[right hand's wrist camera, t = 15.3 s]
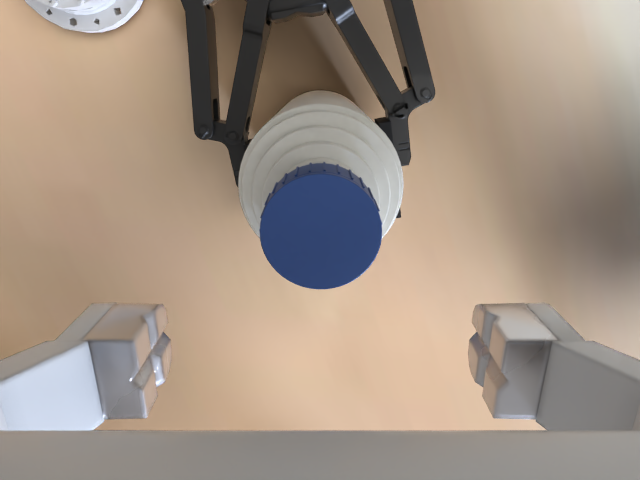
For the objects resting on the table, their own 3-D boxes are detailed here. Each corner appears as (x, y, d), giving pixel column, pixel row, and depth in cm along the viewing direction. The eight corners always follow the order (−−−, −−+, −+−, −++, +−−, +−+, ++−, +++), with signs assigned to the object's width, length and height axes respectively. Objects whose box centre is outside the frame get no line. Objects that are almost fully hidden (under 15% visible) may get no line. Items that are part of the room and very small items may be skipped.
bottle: (389, 127, 37) (479, 199, 16) (334, 208, 39) (349, 361, 18) (305, 69, 35) (284, 65, 15) (253, 156, 38) (170, 260, 17)
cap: (400, 201, 18) (409, 217, 16) (336, 287, 19) (338, 311, 17) (303, 138, 17) (301, 146, 15) (243, 232, 18) (234, 251, 16)
